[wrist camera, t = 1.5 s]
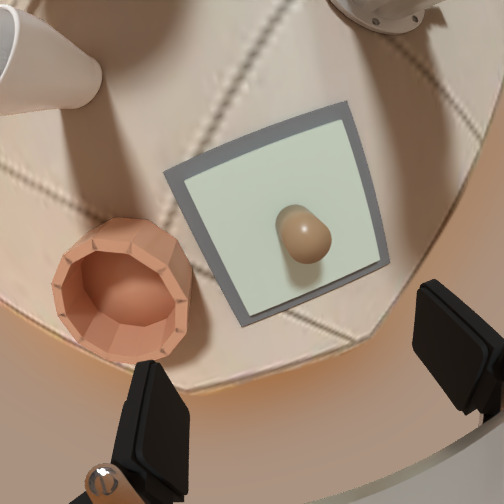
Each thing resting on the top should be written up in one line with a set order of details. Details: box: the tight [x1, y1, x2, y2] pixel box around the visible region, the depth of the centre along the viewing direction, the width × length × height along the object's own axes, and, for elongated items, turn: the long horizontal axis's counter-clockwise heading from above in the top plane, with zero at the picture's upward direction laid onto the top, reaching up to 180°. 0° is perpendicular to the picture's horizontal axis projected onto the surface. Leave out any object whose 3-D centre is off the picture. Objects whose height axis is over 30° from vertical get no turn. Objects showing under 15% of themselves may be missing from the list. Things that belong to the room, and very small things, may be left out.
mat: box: [163, 101, 390, 327], centre depth 29 cm, size 18×18×1 cm
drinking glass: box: [0, 4, 102, 116], centre depth 14 cm, size 7×7×15 cm
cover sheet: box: [184, 120, 380, 316], centre depth 26 cm, size 15×15×6 cm
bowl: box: [52, 217, 193, 365], centre depth 26 cm, size 13×13×6 cm
